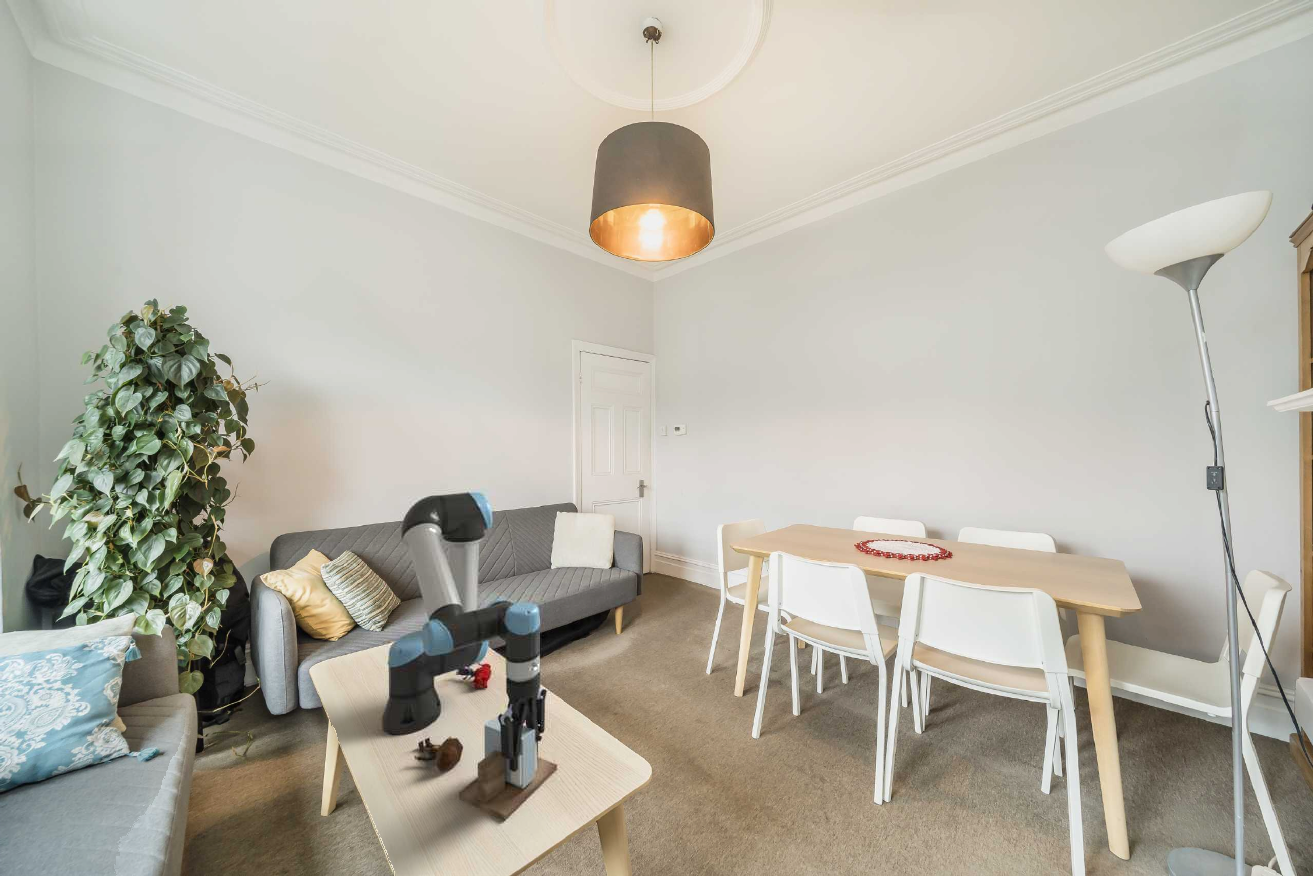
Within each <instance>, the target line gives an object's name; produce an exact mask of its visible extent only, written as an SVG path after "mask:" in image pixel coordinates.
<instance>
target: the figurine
mask: <svg viewBox="0 0 1313 876" xmlns="http://www.w3.org/2000/svg"><path fill="white" fill-rule="evenodd" d="M477 664H478V665H479V667H477V668H476V669H474V668H471V666H470V667H464V668H461V669H458V670H456V673H455V675H456V676H461V677H462V680H463V681H465V680H468V681H470V680H471V679H472V678H473V680H471V682H470V684H474V689H478V688H479V687H482V688H484V689H488V688H489V687H488V681H489V680H490V679H491V676H492V670H491V667H492V666H491V664H490V663H483V664H482V663H481V662H479V663H477ZM468 676H469V677H468Z"/></svg>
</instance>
